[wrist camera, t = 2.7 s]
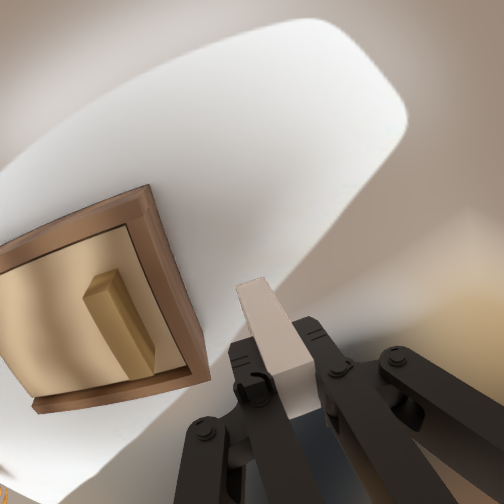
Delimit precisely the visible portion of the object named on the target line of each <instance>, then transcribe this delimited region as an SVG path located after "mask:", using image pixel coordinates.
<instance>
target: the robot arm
mask: <svg viewBox="0 0 504 504" xmlns="http://www.w3.org/2000/svg"><path fill="white" fill-rule="evenodd" d="M235 287H236V290H237V293H238V297H239V300H240V303H241V306H242V310H243V313H244V316H245V319H246V322H247V325H248V329H249V331H250V334H251V337H249V338H246V339H243V340H240V341H237V342H234V343H231V345H230V348H229V351H228V354H229V357H230V361H231V365H232V370H233V374H234V378H235V383H234V385H233V390H234V393H235V395H236V397H237V400H238V403H237V405H236V407H235V408H234V409H233V410H232V411H231V412H229V413H228V414H227V415H225V416H223V417H221V418H219V419H218V418H216V417H210V416H207V417H203V418H199V419H198V420H196V421H194V422H193V423H192V424H191V425H190V426H189V428H188V430H187V432H186V437H185V443H184V448H183V453H182V458H181V464H180V470H179V475H178V480H177V486H176V492H175V498H174V503H173V504H245V481H246V464H247V463H248V462H250V461H252V460H253V459H255V460H256V463H257V466H258V470H259V473H260V476H261V479H262V483H263V486H264V489H265V492H266V495H267V499H268V502H269V504H326V503H325V501H324V499H323V497H322V494H321V492H320V490H319V487H318V485H317V483H316V481H315V479H314V476H313V474H312V472H311V469H310V467H309V465H308V463H307V460H306V458H305V456H304V453H303V451H302V449H301V447H300V444H299V442H298V439H297V437H296V435H295V432H294V430H293V428H292V425H291V423H290V421H289V419H292V418H295V417H297V416H300V415H303V414H305V413H308V412H311V411H313V410H316V409H318V408H321V403H322V405H323V407H324V409H325V416H326V424H327V427H328V428H329V427H330V426H331V428H332V429H333V432H334V433H335V435H336V437H337V439H338V441H339V443H340V445H341V446H342V448H343V450H344V452H345V454H346V456H347V457H348V460H349V461H350V463H351V465H352V467H353V469H354V471H355V473H356V474H357V476H358V478H359V480H360V482H361V483H362V485H363V487H364V489H365V491H366V493H367V494H368V496H369V498H370V500H371V502H372V504H458V503H457V501H456V499H455V498H454V497H453V495H452V494H451V492H450V491H449V490H448V488H447V487H446V485H445V484H444V482H443V481H442V480H441V478H440V477H439V476H438V474H437V473H436V471H435V470H434V469H433V467H432V466H431V464H430V463H429V462H428V460H427V459H426V457H425V456H424V455H423V453H422V452H421V450H420V449H419V448H418V447H417V445H416V444H415V442H414V441H413V440H412V438H413V439H414V440H415V441H417V442H418V443H419V444H421V445H422V446H423V447H424V448H426V449H427V450H428V451H429V452H431V453H432V454H433V455H435V456H436V457H437V458H439V459H440V460H441V461H442V462H444V463H445V464H446V465H448V466H449V467H450V468H452V469H453V470H455V471H456V472H457V473H459V474H460V475H461V476H462V477H464V478H465V479H466V480H468V481H469V482H470V483H472V484H473V485H475V486H476V487H477V488H479V489H480V490H481V491H483V492H484V493H486V494H487V495H488V496H490V497H491V498H493V499H494V500H495V501H497V502H498V503H500V504H504V406H502V405H501V404H499V403H497V402H496V401H494V400H492V399H491V398H489V397H487V396H486V395H484V394H482V393H481V392H479V391H478V390H476V389H474V388H473V387H471V386H469V385H468V384H466V383H465V382H462V381H461V380H459V379H458V378H456V377H455V376H453V375H451V374H450V373H448V372H447V371H445V370H443V369H442V368H440V367H438V366H437V365H435V364H433V363H432V362H430V361H429V360H427V359H425V358H424V357H422V356H420V355H419V354H417V353H415V352H414V351H412V350H411V349H409V348H406V347H404V346H394V347H390V348H388V349H386V350H384V351H383V352H382V354H381V355H380V359H379V360H374V361H369V362H354V361H353V360H352V359H350V358H347V357H345V356H344V355H343V354H342V353H341V352H340V350H339V349H338V348H337V346H336V345H335V343H334V342H333V341H332V339H331V338H330V336H329V335H328V334H327V332H326V331H325V330H324V329H323V327H322V326H321V324H320V323H319V322H318V320H316V319H314V318H312V317H310V316H308V317H305V318H302V319H300V320H297V321H294V322H291V321H290V320H289V318H288V316H287V315H286V313H285V311H284V310H283V308H282V306H281V305H280V303H279V301H278V300H277V298H276V296H275V295H274V293H273V291H272V289H271V288H270V286H269V284H268V283H267V281H266V279H265V278H264V277H262V278H259V279H256V280H253V281H250V282H246V283H243V284H240V285H237V286H235ZM320 401H321V403H320ZM411 437H412V438H411Z"/></svg>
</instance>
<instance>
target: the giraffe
mask: <svg viewBox="0 0 504 504" xmlns="http://www.w3.org/2000/svg"><path fill="white" fill-rule="evenodd" d="M1 494H2V492H1V487H0V496H1ZM2 504H7V489H6V493H5V497H4V499H3V502H2Z"/></svg>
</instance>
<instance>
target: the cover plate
mask: <svg viewBox="0 0 504 504" xmlns="http://www.w3.org/2000/svg"><path fill="white" fill-rule="evenodd" d="M0 356H1V357H2V359H3V360H4V362H5V363H6V364H7V366H8V367H9V369H10V370H11V371H12V373H13V374H14V376H15V377H16V378H17V380H18V381H19V382H20V384H21V385H22V386H23V387H24V389H25V390H26V391H27V392H28V394H29V395H30V396H31V397H32V398H33V397H40V396H47V395H53V394H60V393H66V392H71V391H77V390H82V389H88V388H93V387H98V386H103V385H107V384H112V383H117V382H121V381H126V380H130V381H132V380H137V379H141V378H145V377H149V376H153V375H154V374H155V373H159V372H163V371H167V370H171V369H174V368H178V367H182V366H185V365H186V361H185V359H184V357H183V355H182V353H181V351H180V349H179V347H178V344H177V342H176V340H175V338H174V336H173V334H172V332H171V330H170V328H169V326H168V324H167V321H166V319H165V317H164V315H163V313H162V310H161V308H160V306H159V304H158V301H157V299H156V297H155V295H154V292H153V290H152V288H151V285H150V283H149V280H148V278H147V276H146V273H145V271H144V268H143V266H142V263H141V261H140V258H139V256H138V253H137V251H136V248H135V245H134V243H133V240H132V237H131V235H130V232H129V229H128V227H127V224H126V223H123V224H121V225H118V226H115V227H112V228H110V229H107V230H104V231H101V232H99V233H96V234H93V235H91V236H88V237H85V238H83V239H80V240H78V241H75V242H73V243H70V244H67V245H65V246H62V247H60V248H57V249H55V250H53V251H50V252H48V253H45V254H43V255H40V256H38V257H36V258H33V259H31V260H29V261H26V262H24V263H22V264H19V265H17V266H15V267H13V268H10V269H8V270H6V271H4V272H1V273H0Z"/></svg>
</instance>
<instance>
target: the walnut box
mask: <svg viewBox="0 0 504 504" xmlns="http://www.w3.org/2000/svg"><path fill="white" fill-rule="evenodd" d="M123 223H126V224H127V227H128V229H129V232H130V235H131V237H132V240H133V243H134V245H135V248H136V251H137V253H138V256H139V258H140V261H141V263H142V266H143V268H144V271H145V273H146V276H147V278H148V280H149V283H150V285H151V288H152V290H153V292H154V295H155V297H156V299H157V301H158V304H159V306H160V308H161V310H162V313H163V315H164V317H165V319H166V321H167V324H168V326H169V328H170V330H171V332H172V334H173V336H174V338H175V340H176V342H177V344H178V347H179V349H180V351H181V353H182V355H183V357H184V359H185V361H186V365H185V366H182V367H178V368H174V369H171V370H167V371H163V372H159V373H155V374H154V375H153V376H149V377H145V378H141V379H137V380H132V381H130V380H126V381H121V382H117V383H112V384H107V385H103V386H98V387H93V388H88V389H82V390H77V391H71V392H66V393H60V394H53V395H47V396H40V397H35V398H34V401H33V404H32V406H31V407H32V408H33V409H34V410H35V411H36V412H37V413H38V414H46V413H54V412H62V411H70V410H77V409H84V408H90V407H96V406H102V405H108V404H113V403H118V402H124V401H129V400H133V399H138V398H143V397H147V396H152V395H156V394H160V393H165V392H169V391H173V390H177V389H181V388H185V387H188V386H192V385H196V384H199V383H203V382H206V381H210V380H211V377H210V371H209V365H208V359H207V353H206V347H205V341H204V335H203V332H202V329H201V327H200V324H199V322H198V319H197V317H196V315H195V312H194V310H193V307H192V305H191V302H190V300H189V297H188V294H187V292H186V289H185V287H184V284H183V281H182V279H181V276H180V273H179V271H178V268H177V265H176V263H175V260H174V257H173V254H172V252H171V249H170V246H169V243H168V240H167V237H166V235H165V232H164V229H163V226H162V223H161V220H160V217H159V214H158V211H157V208H156V205H155V202H154V199H153V195H152V192H151V189H150V186H149V184H148V185H145V186H142V187H139V188H136V189H133V190H130V191H128V192H125V193H122V194H119V195H117V196H114V197H111V198H109V199H106V200H103V201H101V202H98V203H96V204H93V205H91V206H88V207H86V208H83V209H81V210H78V211H76V212H73V213H71V214H69V215H66V216H64V217H62V218H59V219H57V220H55V221H52V222H50V223H48V224H46V225H43V226H41V227H39V228H37V229H35V230H32V231H30V232H28V233H26V234H24V235H22V236H20V237H18V238H16V239H14V240H12V241H10V242H8V243H6V244H4V245H2V246H0V273H1V272H4V271H6V270H8V269H10V268H13V267H15V266H17V265H19V264H22V263H24V262H26V261H29V260H31V259H33V258H36V257H38V256H40V255H43V254H45V253H48V252H50V251H53V250H55V249H57V248H60V247H62V246H65V245H67V244H70V243H73V242H75V241H78V240H80V239H83V238H85V237H88V236H91V235H93V234H96V233H99V232H101V231H104V230H107V229H110V228H112V227H115V226H118V225H121V224H123Z"/></svg>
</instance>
